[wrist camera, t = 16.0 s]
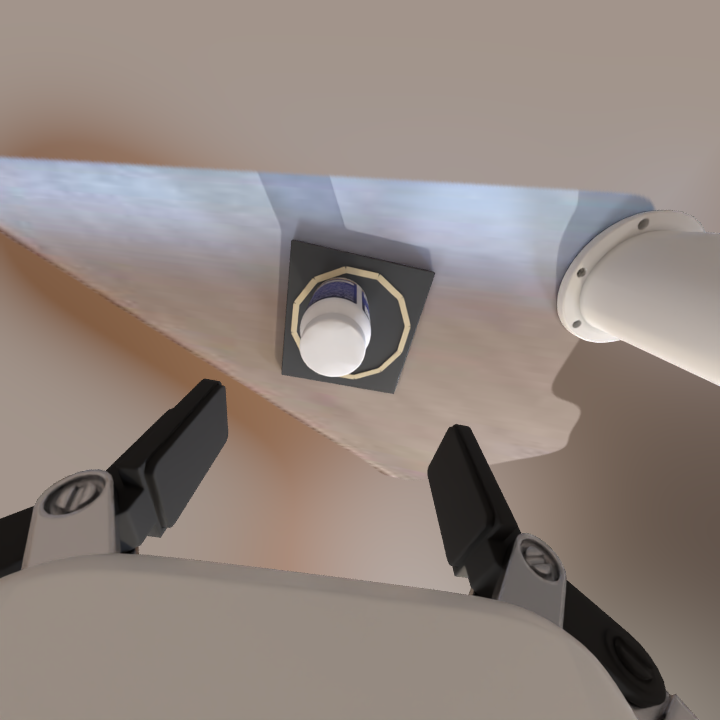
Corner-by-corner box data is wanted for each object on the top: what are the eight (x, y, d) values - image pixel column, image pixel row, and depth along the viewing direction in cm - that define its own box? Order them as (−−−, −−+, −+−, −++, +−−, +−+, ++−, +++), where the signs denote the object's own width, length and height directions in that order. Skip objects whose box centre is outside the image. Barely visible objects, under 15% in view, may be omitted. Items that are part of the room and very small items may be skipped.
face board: (433, 271, 26) (435, 273, 25) (393, 391, 33) (393, 394, 32) (292, 239, 24) (291, 240, 23) (282, 372, 31) (281, 375, 31)
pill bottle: (302, 308, 27) (275, 355, 18) (334, 263, 24) (321, 292, 16) (345, 339, 28) (340, 395, 20) (379, 300, 26) (390, 344, 18)
